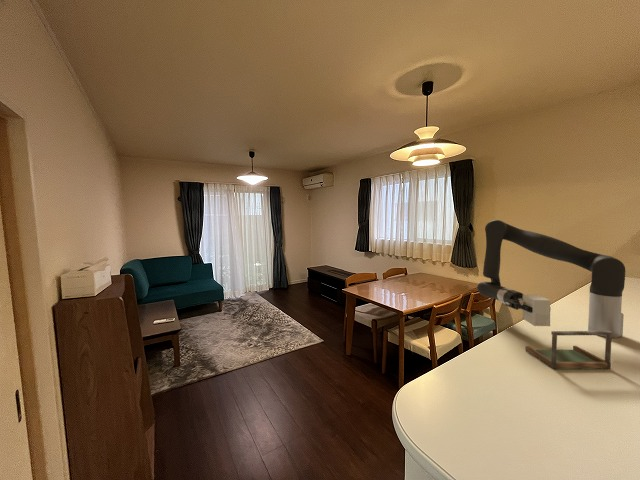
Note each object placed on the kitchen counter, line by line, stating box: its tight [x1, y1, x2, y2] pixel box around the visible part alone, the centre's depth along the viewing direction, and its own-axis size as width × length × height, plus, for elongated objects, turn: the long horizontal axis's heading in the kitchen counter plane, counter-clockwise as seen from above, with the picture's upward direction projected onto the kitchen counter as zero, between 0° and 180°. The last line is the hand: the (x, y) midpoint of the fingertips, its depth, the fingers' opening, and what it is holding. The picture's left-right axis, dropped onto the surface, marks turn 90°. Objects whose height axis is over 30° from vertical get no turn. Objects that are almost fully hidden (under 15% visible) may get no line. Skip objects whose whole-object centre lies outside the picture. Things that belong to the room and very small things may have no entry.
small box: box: [522, 294, 551, 327], centre depth 103 cm, size 8×6×10 cm
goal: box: [525, 330, 613, 370], centre depth 90 cm, size 18×12×12 cm, turn 87°
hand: (540, 309), depth 101 cm, fingers closed on small box, 6 cm apart
